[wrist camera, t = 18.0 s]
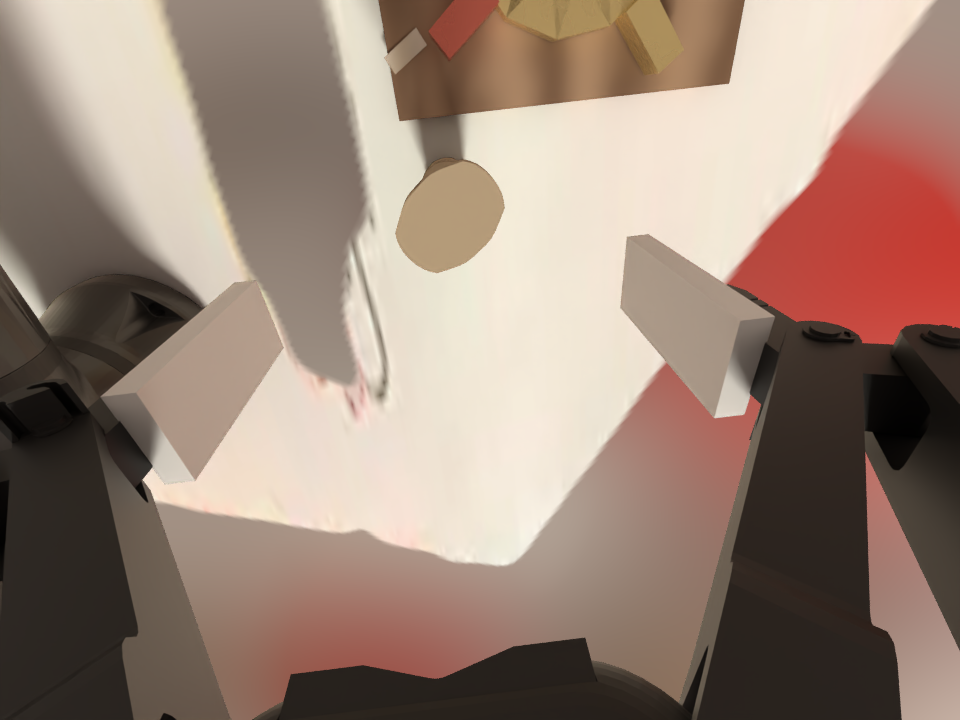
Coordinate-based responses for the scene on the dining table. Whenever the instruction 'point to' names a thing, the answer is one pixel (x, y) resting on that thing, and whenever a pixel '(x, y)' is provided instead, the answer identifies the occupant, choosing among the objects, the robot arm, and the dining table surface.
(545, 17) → the ring nut
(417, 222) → the handle
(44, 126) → the dining table surface
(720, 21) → the board
